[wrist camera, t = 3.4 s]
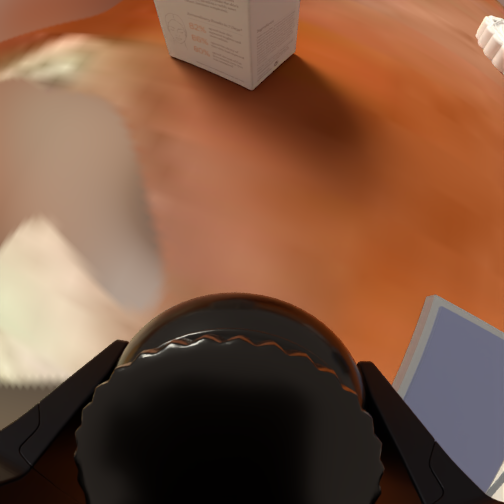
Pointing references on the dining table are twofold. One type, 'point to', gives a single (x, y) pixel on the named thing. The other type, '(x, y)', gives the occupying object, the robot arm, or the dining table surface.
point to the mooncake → (492, 40)
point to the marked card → (497, 486)
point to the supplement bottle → (231, 412)
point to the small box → (231, 35)
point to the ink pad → (457, 386)
